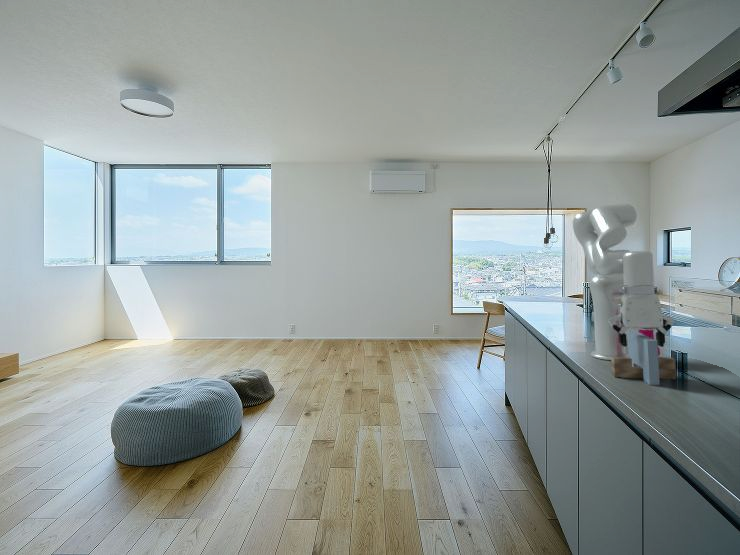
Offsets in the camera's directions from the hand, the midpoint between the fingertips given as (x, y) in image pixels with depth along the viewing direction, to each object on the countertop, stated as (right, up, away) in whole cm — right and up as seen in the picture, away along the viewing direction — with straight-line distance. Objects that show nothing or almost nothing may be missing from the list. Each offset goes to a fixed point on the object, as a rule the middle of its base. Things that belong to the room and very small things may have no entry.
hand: (641, 345), depth 112 cm
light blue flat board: (+1, -10, 0) cm, 10 cm away
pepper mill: (+12, -9, +14) cm, 21 cm away
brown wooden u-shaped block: (+1, -10, 0) cm, 10 cm away
